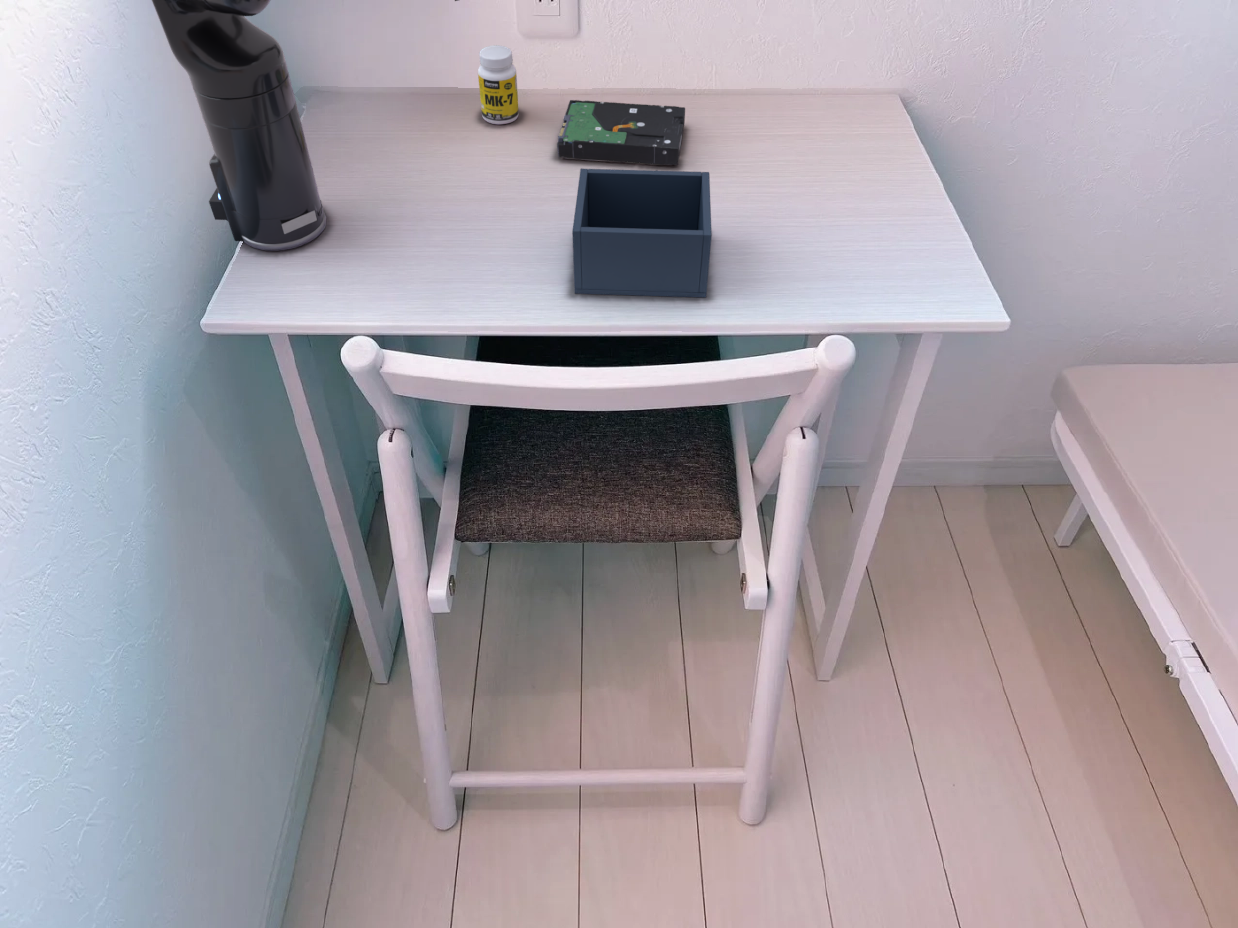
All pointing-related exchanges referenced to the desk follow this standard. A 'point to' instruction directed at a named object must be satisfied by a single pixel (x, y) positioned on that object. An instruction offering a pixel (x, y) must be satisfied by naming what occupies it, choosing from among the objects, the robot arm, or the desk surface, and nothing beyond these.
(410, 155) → the desk surface
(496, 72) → the supplement bottle
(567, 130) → the disk drive
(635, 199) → the bin
